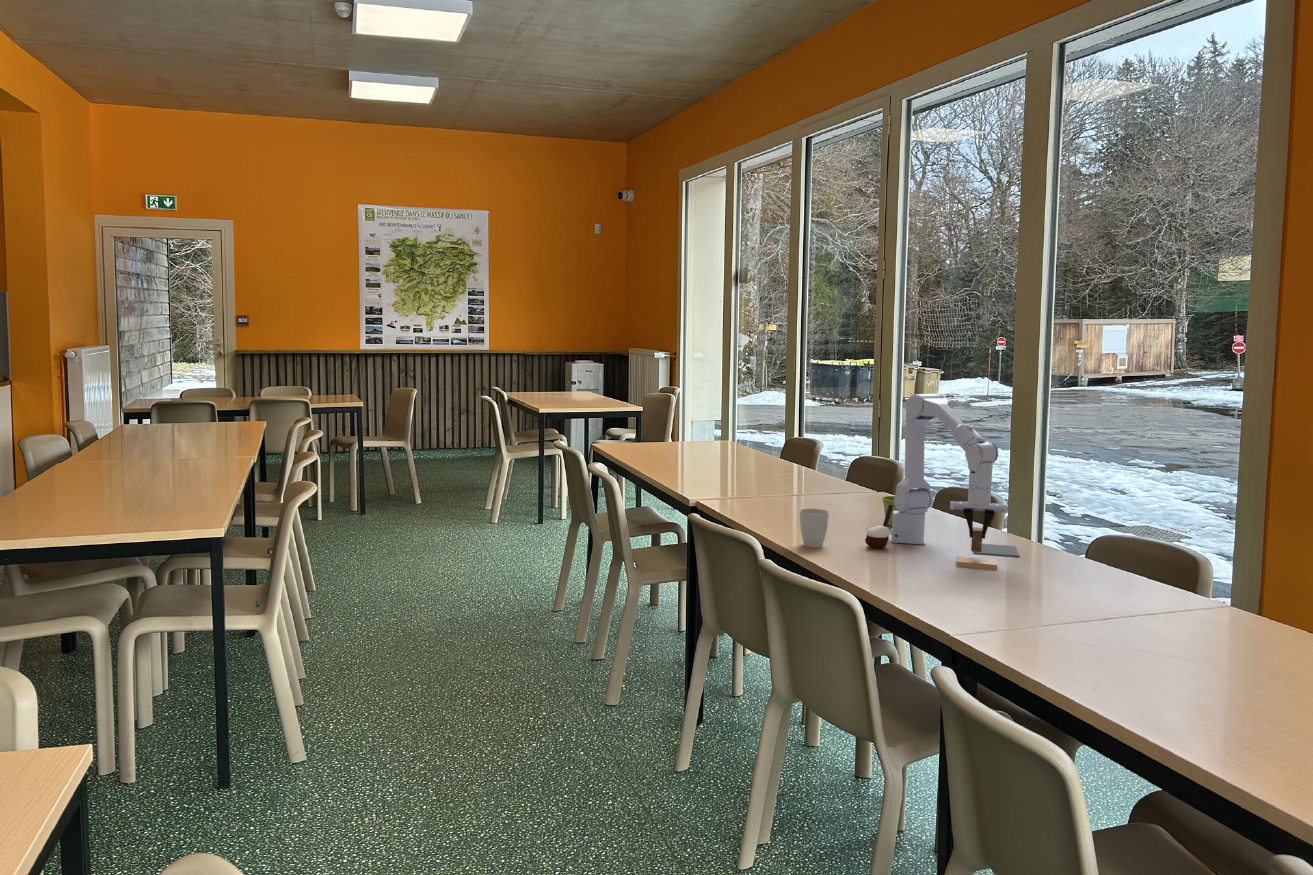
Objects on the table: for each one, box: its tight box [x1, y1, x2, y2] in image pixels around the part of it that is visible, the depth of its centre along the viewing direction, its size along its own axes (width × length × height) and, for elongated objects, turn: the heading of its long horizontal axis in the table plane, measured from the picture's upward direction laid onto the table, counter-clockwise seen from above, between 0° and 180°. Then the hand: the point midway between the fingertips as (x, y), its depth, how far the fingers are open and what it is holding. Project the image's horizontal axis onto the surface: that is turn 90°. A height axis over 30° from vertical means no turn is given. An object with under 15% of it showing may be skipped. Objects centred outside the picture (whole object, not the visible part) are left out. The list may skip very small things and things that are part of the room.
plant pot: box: [881, 495, 898, 527], centre depth 300 cm, size 9×9×9 cm
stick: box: [970, 526, 983, 553], centre depth 254 cm, size 2×2×6 cm
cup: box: [799, 508, 830, 549], centre depth 271 cm, size 8×8×10 cm
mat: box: [972, 543, 1020, 558], centre depth 269 cm, size 12×12×1 cm
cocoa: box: [864, 504, 893, 550], centre depth 270 cm, size 10×6×12 cm, turn 98°
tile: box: [955, 555, 998, 571], centre depth 252 cm, size 10×2×6 cm
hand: (977, 537), depth 254 cm, fingers closed on stick, 2 cm apart
